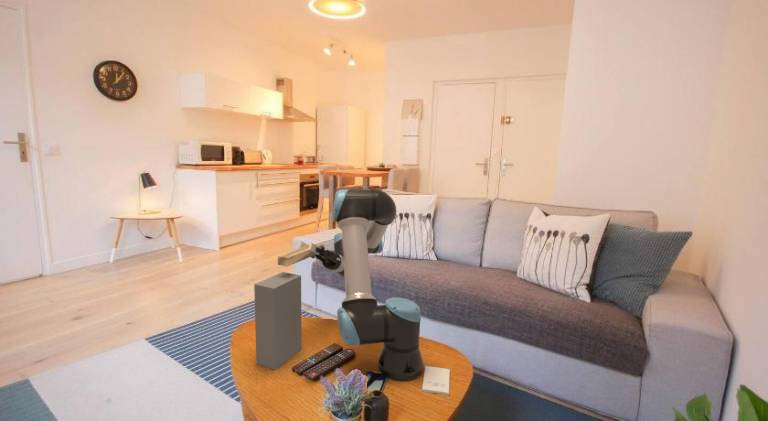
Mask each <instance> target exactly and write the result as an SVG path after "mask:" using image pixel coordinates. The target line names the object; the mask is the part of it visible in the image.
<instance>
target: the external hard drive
mask: <svg viewBox="0 0 768 421" xmlns="http://www.w3.org/2000/svg"><path fill="white" fill-rule="evenodd" d="M423 372H424V374H423V380H422V386H421V387H422V388H421V392H422V393H428V394H437V395H441V396H442V395H443V396H450V383H451V382H450V378H451V376H450V374H451V369H449V368H444V367H436V366H430V365H425V366H424V371H423Z"/></svg>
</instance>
